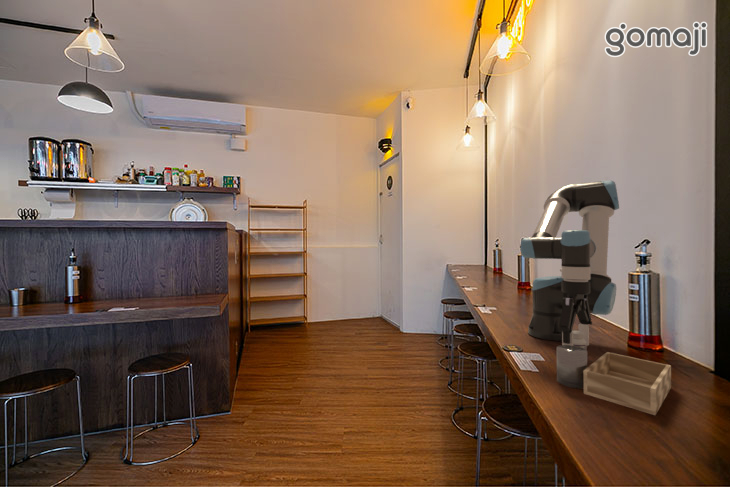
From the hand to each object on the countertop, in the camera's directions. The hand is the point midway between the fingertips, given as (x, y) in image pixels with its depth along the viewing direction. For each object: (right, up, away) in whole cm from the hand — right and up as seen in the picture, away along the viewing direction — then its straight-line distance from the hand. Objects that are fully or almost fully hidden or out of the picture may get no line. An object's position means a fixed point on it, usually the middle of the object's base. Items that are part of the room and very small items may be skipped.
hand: (575, 349), depth 101 cm
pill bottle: (0, -5, 0) cm, 5 cm away
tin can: (-9, -5, -13) cm, 17 cm away
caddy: (+1, -5, -18) cm, 19 cm away
